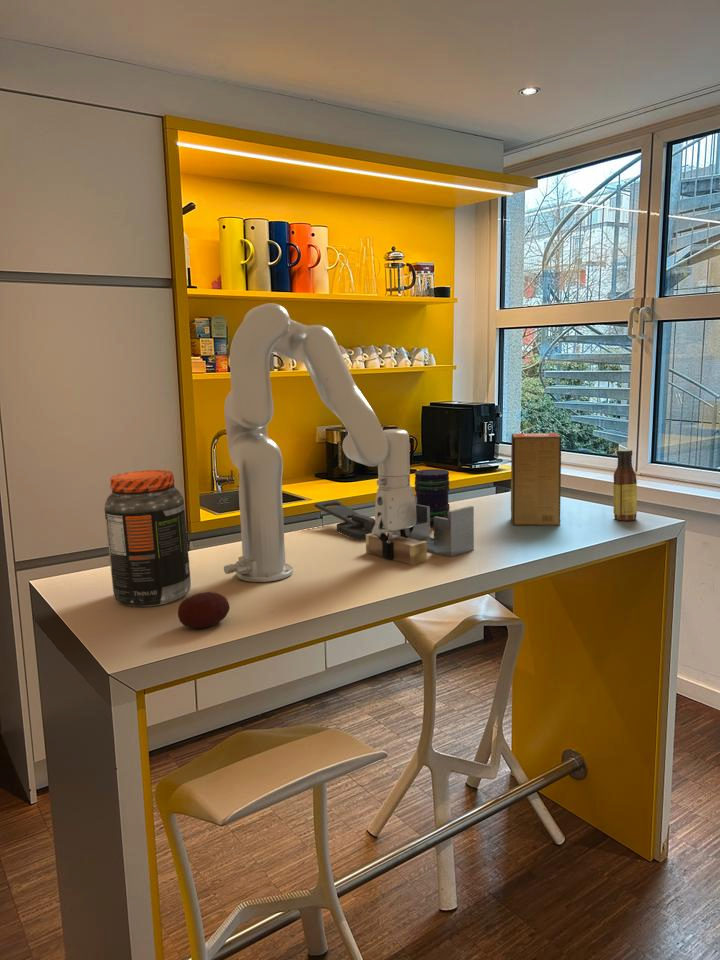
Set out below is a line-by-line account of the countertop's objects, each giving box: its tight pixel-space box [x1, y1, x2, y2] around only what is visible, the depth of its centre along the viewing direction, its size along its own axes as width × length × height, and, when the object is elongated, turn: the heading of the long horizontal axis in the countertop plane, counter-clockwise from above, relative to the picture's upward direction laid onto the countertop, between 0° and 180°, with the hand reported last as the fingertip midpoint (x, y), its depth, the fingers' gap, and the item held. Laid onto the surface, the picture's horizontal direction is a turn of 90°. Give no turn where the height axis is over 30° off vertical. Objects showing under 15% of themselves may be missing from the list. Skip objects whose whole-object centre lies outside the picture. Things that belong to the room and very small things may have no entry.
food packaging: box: [510, 432, 562, 527], centre depth 207 cm, size 13×9×25 cm
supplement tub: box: [104, 469, 192, 607], centre depth 152 cm, size 16×16×26 cm
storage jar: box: [414, 468, 451, 528], centre depth 210 cm, size 10×10×15 cm
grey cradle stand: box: [392, 496, 475, 558], centre depth 186 cm, size 8×20×11 cm, turn 42°
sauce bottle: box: [612, 448, 638, 522], centre depth 208 cm, size 6×6×20 cm
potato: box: [177, 591, 231, 629], centre depth 136 cm, size 7×10×6 cm
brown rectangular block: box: [365, 532, 428, 566], centre depth 178 cm, size 5×16×5 cm, turn 42°
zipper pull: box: [314, 499, 375, 542], centre depth 205 cm, size 9×7×25 cm
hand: (395, 555), depth 178 cm, fingers closed on brown rectangular block, 4 cm apart
